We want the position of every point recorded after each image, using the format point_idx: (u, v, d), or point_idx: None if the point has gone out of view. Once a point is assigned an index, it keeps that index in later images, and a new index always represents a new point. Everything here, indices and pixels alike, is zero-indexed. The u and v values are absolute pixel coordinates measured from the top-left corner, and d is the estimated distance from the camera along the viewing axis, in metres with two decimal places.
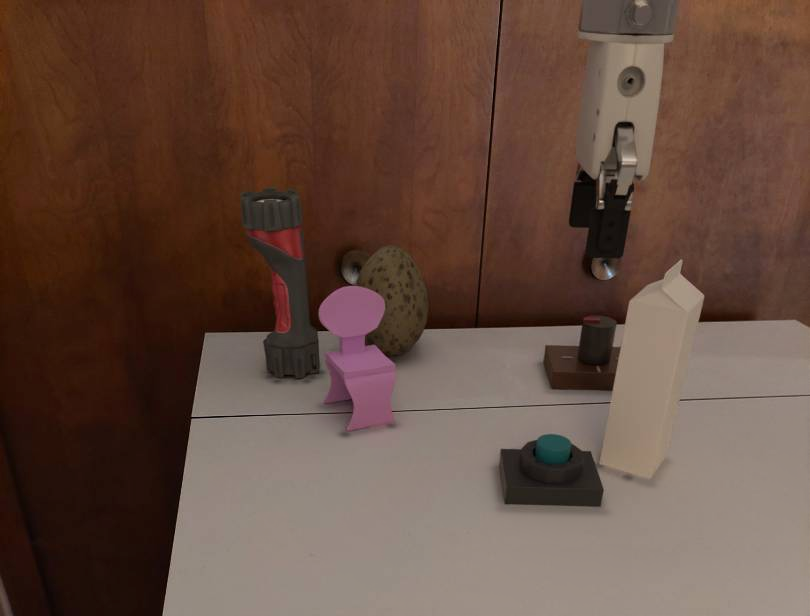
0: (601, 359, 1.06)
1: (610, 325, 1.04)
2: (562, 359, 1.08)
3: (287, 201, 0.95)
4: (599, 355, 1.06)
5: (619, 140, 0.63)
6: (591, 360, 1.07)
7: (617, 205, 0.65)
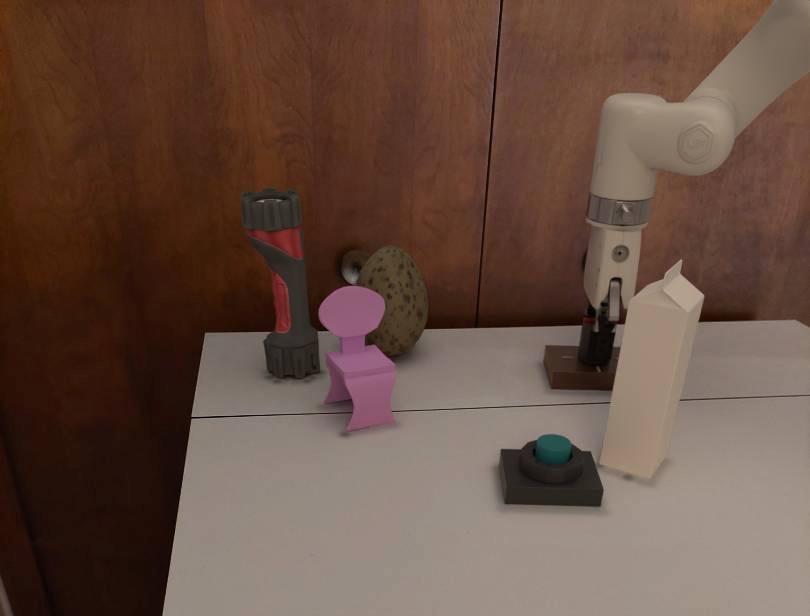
0: None
1: None
2: (562, 359, 1.08)
3: (287, 201, 0.95)
4: None
5: (610, 298, 0.98)
6: None
7: (606, 330, 1.02)
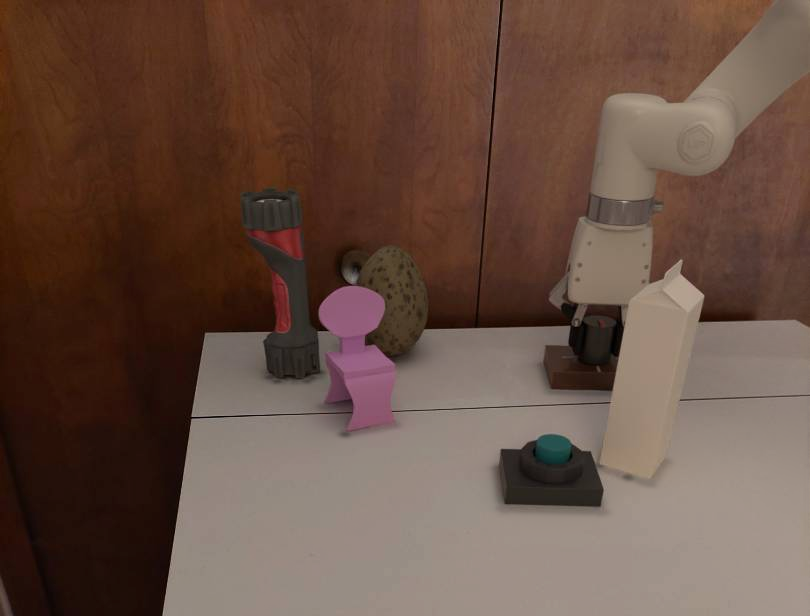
0: None
1: (609, 318, 1.06)
2: (562, 359, 1.08)
3: (287, 201, 0.95)
4: None
5: None
6: (610, 357, 1.08)
7: None
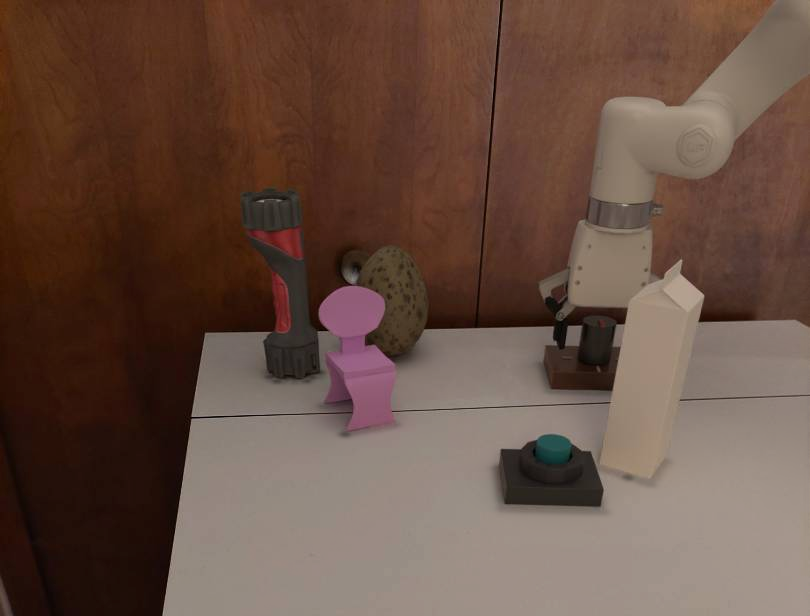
0: None
1: (609, 318, 1.06)
2: (562, 359, 1.08)
3: (287, 201, 0.95)
4: None
5: (658, 279, 1.02)
6: (610, 356, 1.08)
7: None
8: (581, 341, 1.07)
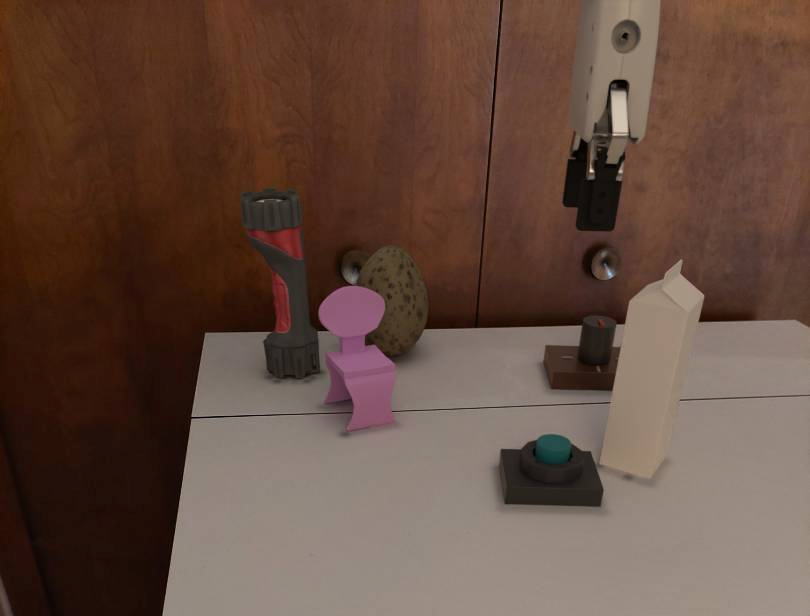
0: None
1: (609, 318, 1.06)
2: (562, 359, 1.08)
3: (287, 201, 0.95)
4: None
5: (611, 107, 0.60)
6: (610, 356, 1.08)
7: (608, 175, 0.63)
8: (581, 341, 1.07)
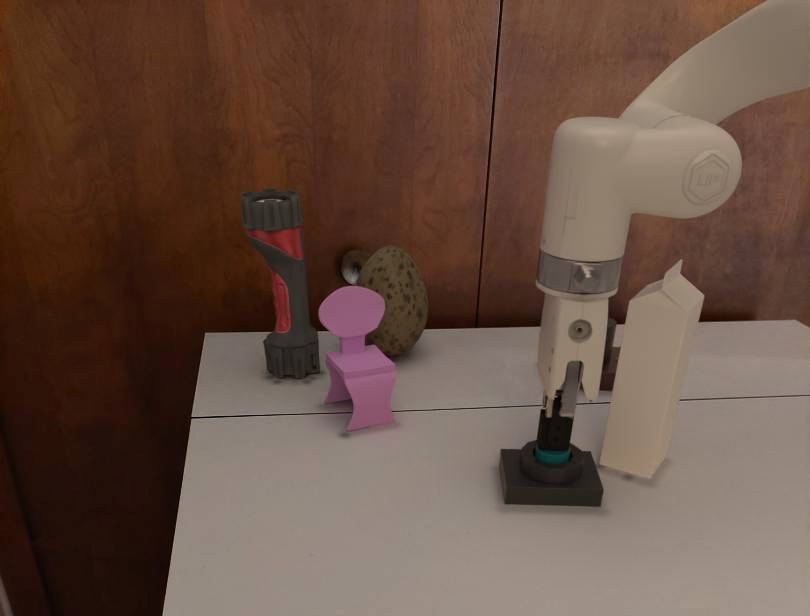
0: None
1: (609, 318, 1.06)
2: None
3: (287, 201, 0.95)
4: None
5: (565, 389, 0.75)
6: (610, 356, 1.08)
7: (562, 416, 0.80)
8: None
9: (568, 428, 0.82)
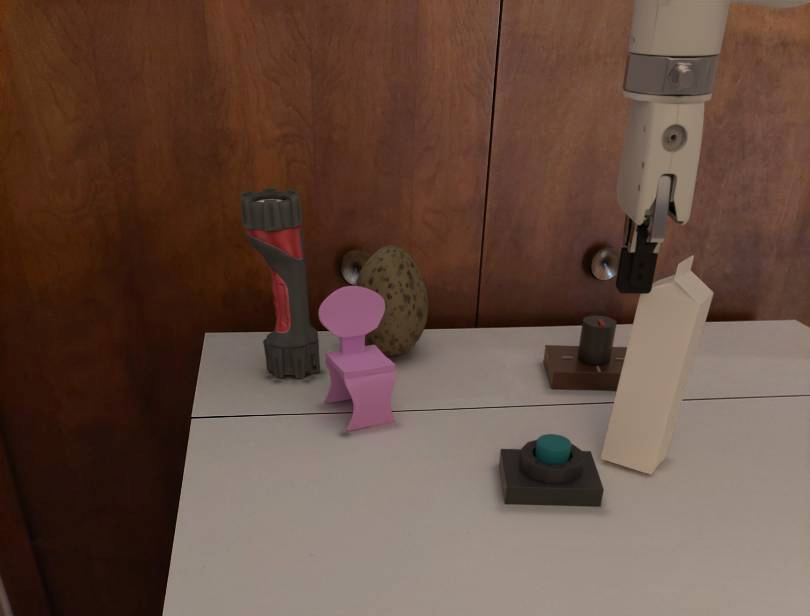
0: None
1: (609, 318, 1.06)
2: (562, 359, 1.08)
3: (287, 201, 0.95)
4: None
5: (655, 210, 0.70)
6: (610, 356, 1.08)
7: (647, 249, 0.75)
8: (581, 341, 1.07)
9: (651, 266, 0.77)
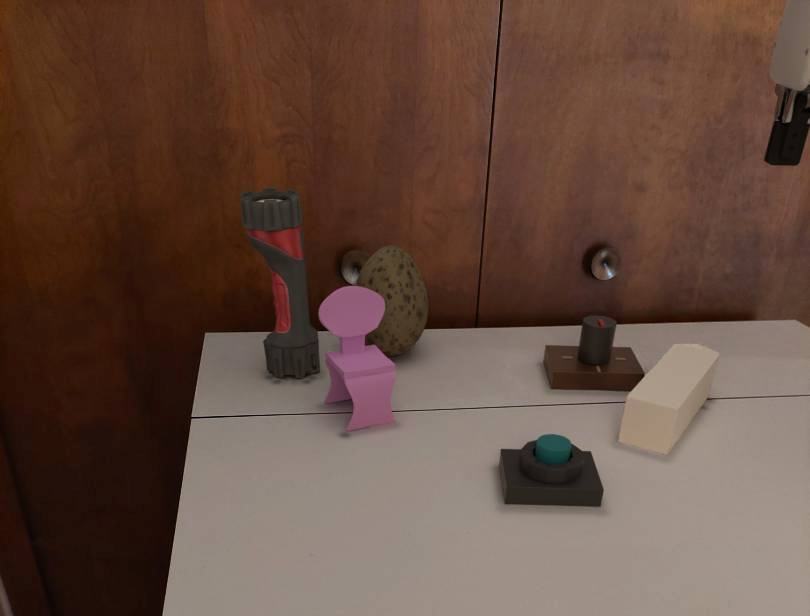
0: None
1: (609, 318, 1.06)
2: (562, 359, 1.08)
3: (287, 201, 0.95)
4: None
5: None
6: (610, 356, 1.08)
7: (802, 118, 0.81)
8: (581, 341, 1.07)
9: (802, 137, 0.83)
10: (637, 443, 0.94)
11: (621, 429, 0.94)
